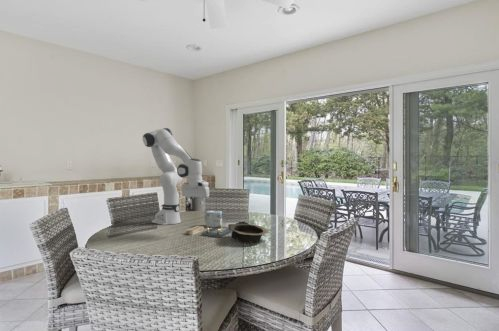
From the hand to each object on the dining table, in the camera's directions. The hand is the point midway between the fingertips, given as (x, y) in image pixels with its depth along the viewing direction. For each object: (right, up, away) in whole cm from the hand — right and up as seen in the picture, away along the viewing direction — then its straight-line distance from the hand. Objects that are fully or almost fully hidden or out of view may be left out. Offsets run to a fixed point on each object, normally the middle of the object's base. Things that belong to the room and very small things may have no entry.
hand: (195, 203), depth 194 cm
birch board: (0, -20, +1) cm, 20 cm away
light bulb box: (+10, -19, +19) cm, 29 cm away
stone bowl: (+35, -20, -16) cm, 44 cm away
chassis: (+16, -19, 0) cm, 25 cm away
